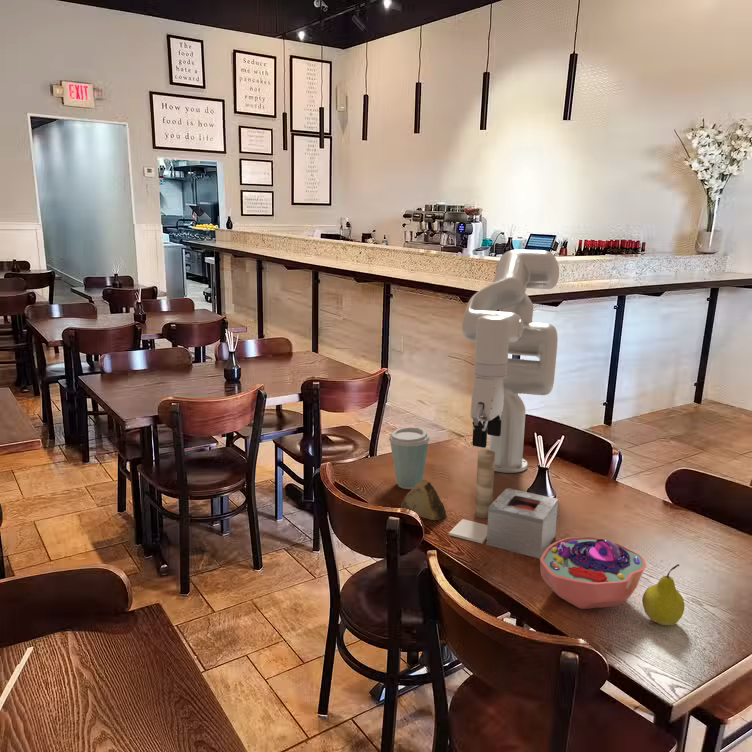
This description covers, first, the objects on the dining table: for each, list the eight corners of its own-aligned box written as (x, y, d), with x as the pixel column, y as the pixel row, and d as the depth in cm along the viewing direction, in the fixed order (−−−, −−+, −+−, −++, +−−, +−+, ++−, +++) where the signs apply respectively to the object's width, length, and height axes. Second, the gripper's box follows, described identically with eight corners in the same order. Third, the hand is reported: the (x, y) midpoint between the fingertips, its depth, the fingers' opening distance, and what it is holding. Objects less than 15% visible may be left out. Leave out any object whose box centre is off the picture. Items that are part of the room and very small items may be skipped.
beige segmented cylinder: (478, 509, 162) (481, 448, 159) (493, 513, 161) (497, 451, 157) (472, 515, 159) (475, 453, 155) (488, 519, 157) (491, 456, 153)
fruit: (633, 621, 118) (640, 560, 115) (650, 605, 123) (657, 547, 120) (672, 638, 113) (680, 575, 111) (688, 621, 118) (696, 561, 115)
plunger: (515, 515, 149) (516, 502, 149) (536, 520, 147) (537, 507, 146) (508, 524, 145) (509, 510, 145) (530, 529, 143) (530, 515, 142)
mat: (462, 521, 156) (462, 519, 156) (494, 529, 152) (494, 526, 152) (448, 535, 149) (448, 532, 149) (482, 543, 146) (482, 541, 145)
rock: (388, 502, 161) (410, 513, 152) (404, 471, 162) (427, 480, 154) (418, 520, 166) (442, 531, 157) (434, 490, 167) (458, 499, 159)
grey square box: (504, 523, 155) (506, 487, 153) (555, 535, 150) (558, 498, 147) (486, 544, 145) (488, 507, 143) (540, 558, 139) (543, 519, 137)
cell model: (518, 585, 129) (521, 532, 127) (601, 567, 136) (606, 517, 134) (571, 635, 114) (577, 576, 111) (662, 612, 121) (669, 556, 118)
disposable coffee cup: (413, 496, 170) (414, 441, 166) (380, 485, 176) (380, 432, 173) (435, 483, 178) (437, 430, 175) (402, 474, 184) (403, 422, 181)
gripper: (488, 361, 160) (484, 429, 164) (460, 374, 146) (457, 448, 149) (518, 365, 157) (513, 433, 160) (493, 378, 142) (489, 454, 146)
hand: (486, 440), depth 155 cm, fingers open, 9 cm apart
